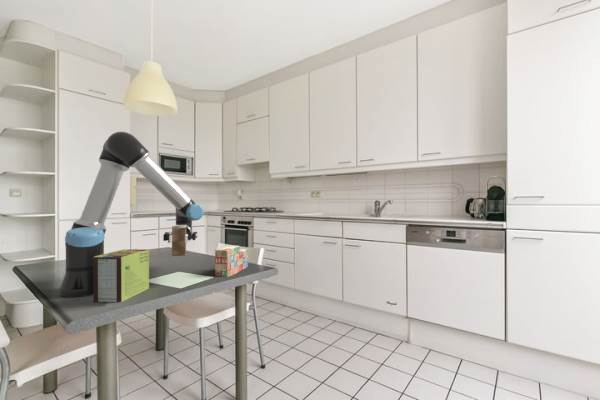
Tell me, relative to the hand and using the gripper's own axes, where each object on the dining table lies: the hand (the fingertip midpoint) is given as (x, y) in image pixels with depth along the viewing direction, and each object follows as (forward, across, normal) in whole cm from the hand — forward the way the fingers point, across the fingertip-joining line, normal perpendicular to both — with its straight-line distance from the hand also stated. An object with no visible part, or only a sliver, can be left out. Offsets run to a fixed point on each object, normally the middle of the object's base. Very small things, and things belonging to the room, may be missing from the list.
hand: (178, 239), depth 115 cm
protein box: (+4, +18, -19) cm, 27 cm away
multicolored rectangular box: (-20, -23, -19) cm, 36 cm away
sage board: (-11, 0, -19) cm, 22 cm away
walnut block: (-5, 0, -7) cm, 9 cm away
